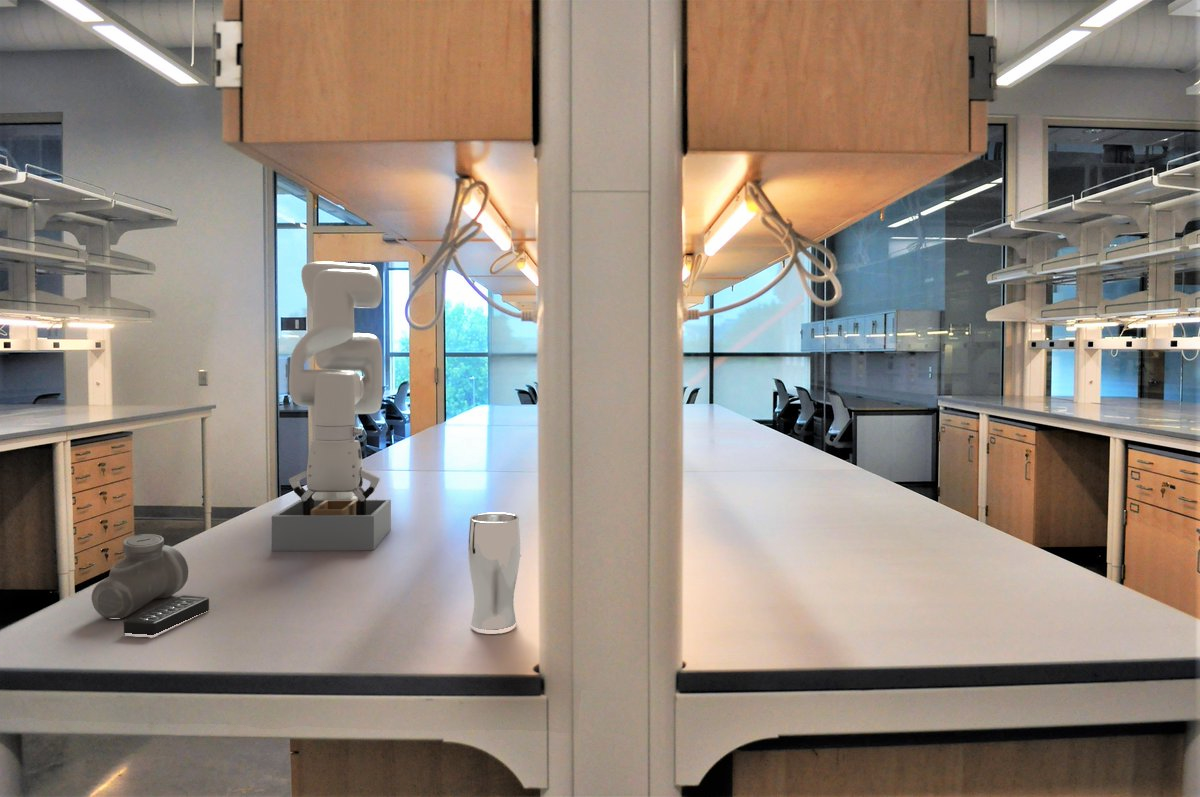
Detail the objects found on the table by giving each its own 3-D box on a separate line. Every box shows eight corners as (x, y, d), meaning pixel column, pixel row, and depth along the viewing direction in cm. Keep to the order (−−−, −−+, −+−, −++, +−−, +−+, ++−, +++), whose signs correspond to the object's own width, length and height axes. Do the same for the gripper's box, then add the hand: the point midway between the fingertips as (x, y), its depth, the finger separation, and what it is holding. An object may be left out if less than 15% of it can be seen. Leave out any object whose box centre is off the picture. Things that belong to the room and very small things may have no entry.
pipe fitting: (140, 589, 112) (139, 525, 111) (190, 596, 112) (190, 531, 110) (78, 626, 101) (76, 555, 99) (135, 633, 100) (133, 562, 98)
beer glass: (515, 637, 97) (517, 523, 96) (462, 635, 97) (463, 522, 96) (522, 618, 104) (523, 512, 103) (473, 617, 104) (473, 511, 103)
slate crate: (299, 530, 154) (299, 499, 154) (390, 530, 156) (390, 499, 156) (271, 550, 138) (271, 516, 138) (373, 550, 140) (373, 516, 139)
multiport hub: (121, 638, 95) (121, 621, 95) (182, 610, 106) (182, 594, 106) (152, 641, 94) (152, 623, 94) (210, 613, 105) (210, 597, 105)
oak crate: (325, 529, 152) (325, 500, 151) (357, 529, 152) (357, 500, 152) (310, 540, 142) (310, 509, 141) (345, 540, 142) (345, 509, 142)
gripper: (383, 432, 150) (383, 516, 151) (295, 432, 149) (296, 516, 150) (375, 436, 143) (375, 524, 144) (283, 435, 141) (283, 524, 142)
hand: (334, 520), depth 147 cm, fingers open, 9 cm apart
